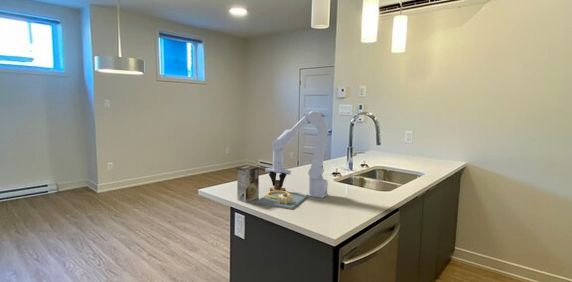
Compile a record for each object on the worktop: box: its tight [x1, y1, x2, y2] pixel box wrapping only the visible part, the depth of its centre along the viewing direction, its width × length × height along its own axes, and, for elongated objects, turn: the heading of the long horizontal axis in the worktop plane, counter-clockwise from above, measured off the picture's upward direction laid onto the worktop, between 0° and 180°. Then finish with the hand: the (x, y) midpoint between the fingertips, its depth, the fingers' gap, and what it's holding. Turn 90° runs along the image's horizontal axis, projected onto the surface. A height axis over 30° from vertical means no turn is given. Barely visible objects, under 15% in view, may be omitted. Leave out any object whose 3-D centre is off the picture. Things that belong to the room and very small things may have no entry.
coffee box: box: [236, 164, 260, 203], centre depth 154 cm, size 9×6×16 cm
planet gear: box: [269, 179, 286, 192], centre depth 170 cm, size 9×9×6 cm
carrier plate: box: [254, 190, 307, 210], centre depth 153 cm, size 19×19×5 cm
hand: (277, 186), depth 170 cm, fingers closed on planet gear, 4 cm apart
